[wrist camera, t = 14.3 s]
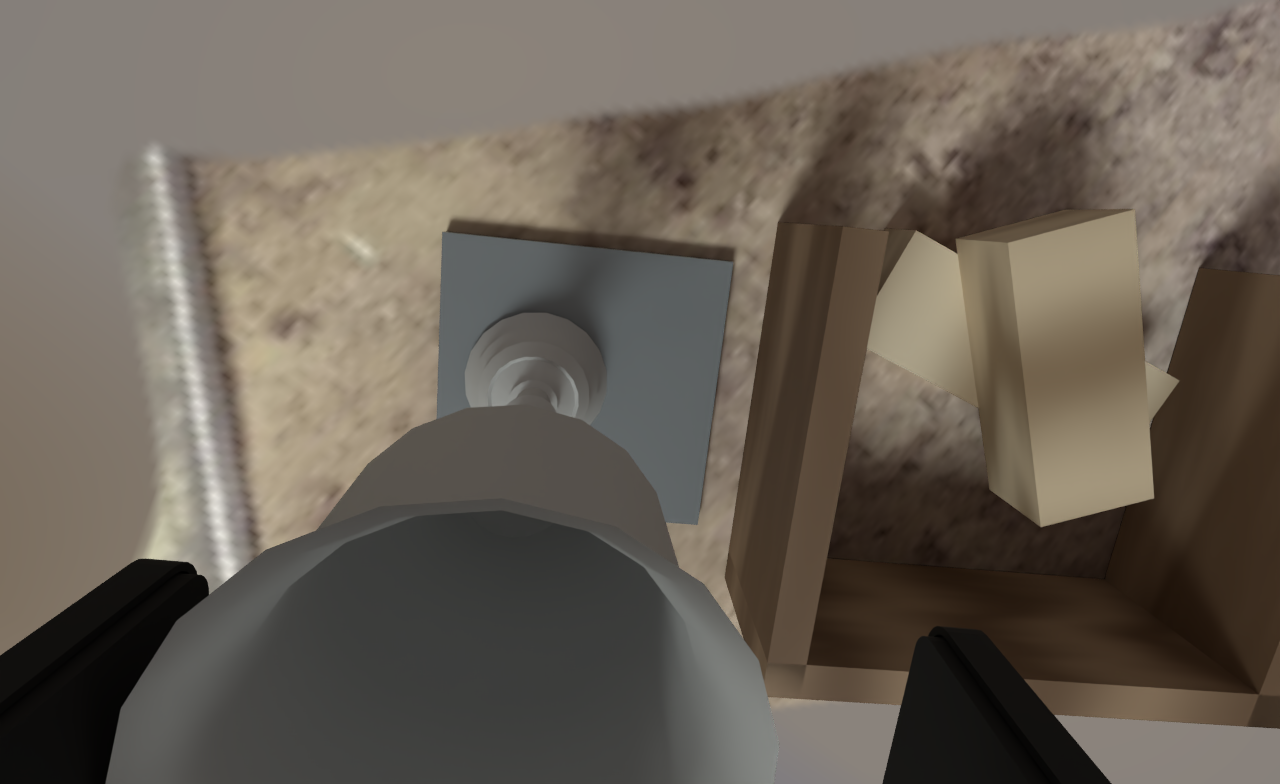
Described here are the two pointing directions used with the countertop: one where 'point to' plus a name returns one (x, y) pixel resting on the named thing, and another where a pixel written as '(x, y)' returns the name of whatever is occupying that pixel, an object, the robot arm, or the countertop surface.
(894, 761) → the robot arm
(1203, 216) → the countertop surface
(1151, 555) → the brown wooden u-shaped frame
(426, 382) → the countertop surface
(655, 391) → the slate tile
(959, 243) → the offcut upper
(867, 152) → the countertop surface
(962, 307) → the offcut lower
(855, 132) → the countertop surface
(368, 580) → the chalice
